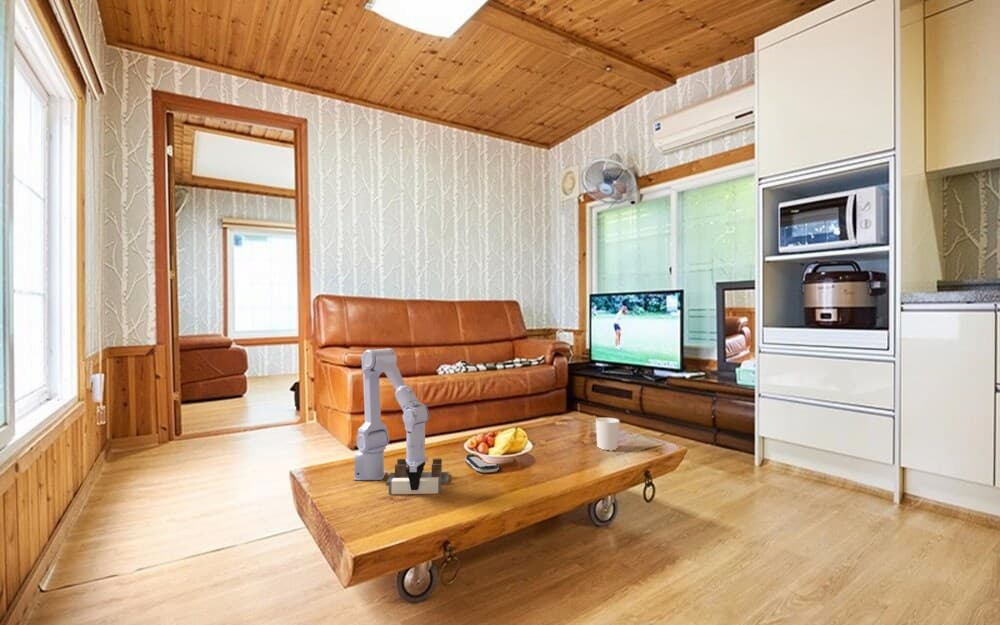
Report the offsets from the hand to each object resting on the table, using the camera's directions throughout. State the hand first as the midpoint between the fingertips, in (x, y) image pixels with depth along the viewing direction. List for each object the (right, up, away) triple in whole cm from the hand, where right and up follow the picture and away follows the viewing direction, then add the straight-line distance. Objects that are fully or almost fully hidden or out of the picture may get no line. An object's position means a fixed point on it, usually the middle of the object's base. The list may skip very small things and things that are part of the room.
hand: (415, 487), depth 148 cm
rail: (0, -1, 0) cm, 1 cm away
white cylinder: (+72, -2, +49) cm, 87 cm away
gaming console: (+20, -2, +27) cm, 33 cm away
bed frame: (-1, -1, +11) cm, 11 cm away
